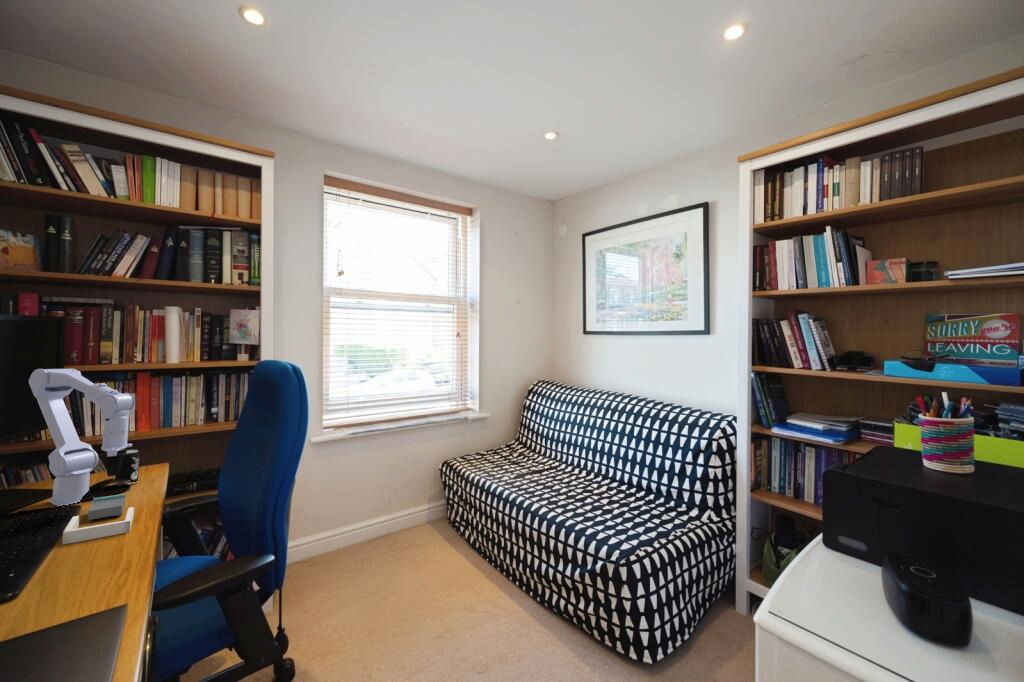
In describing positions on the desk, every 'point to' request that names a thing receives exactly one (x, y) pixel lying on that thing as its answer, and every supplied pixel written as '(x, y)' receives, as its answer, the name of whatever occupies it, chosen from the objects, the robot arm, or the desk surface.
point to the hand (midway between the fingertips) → (113, 474)
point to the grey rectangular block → (106, 507)
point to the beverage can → (129, 466)
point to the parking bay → (96, 529)
